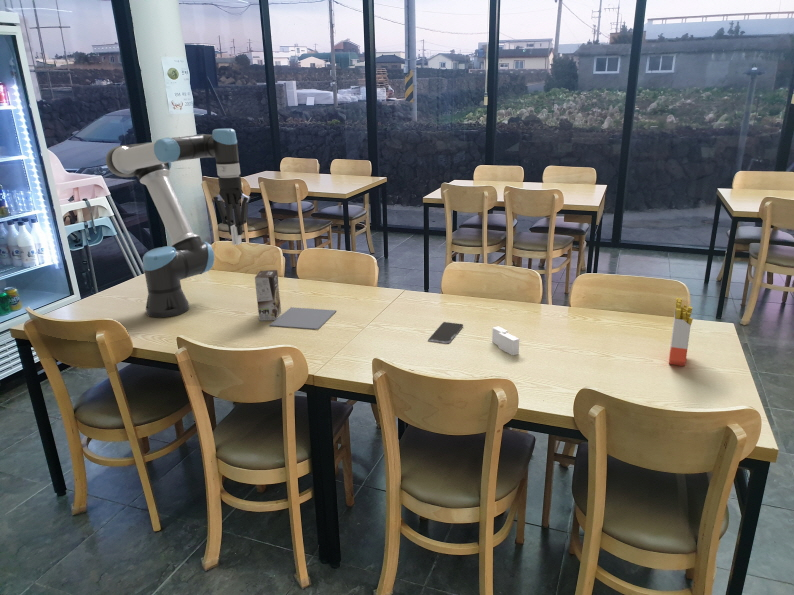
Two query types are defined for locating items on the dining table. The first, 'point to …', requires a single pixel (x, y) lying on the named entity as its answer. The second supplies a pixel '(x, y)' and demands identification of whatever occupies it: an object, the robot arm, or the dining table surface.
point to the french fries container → (680, 334)
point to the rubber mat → (303, 318)
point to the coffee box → (268, 295)
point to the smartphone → (445, 332)
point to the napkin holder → (505, 340)
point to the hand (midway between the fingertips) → (237, 243)
